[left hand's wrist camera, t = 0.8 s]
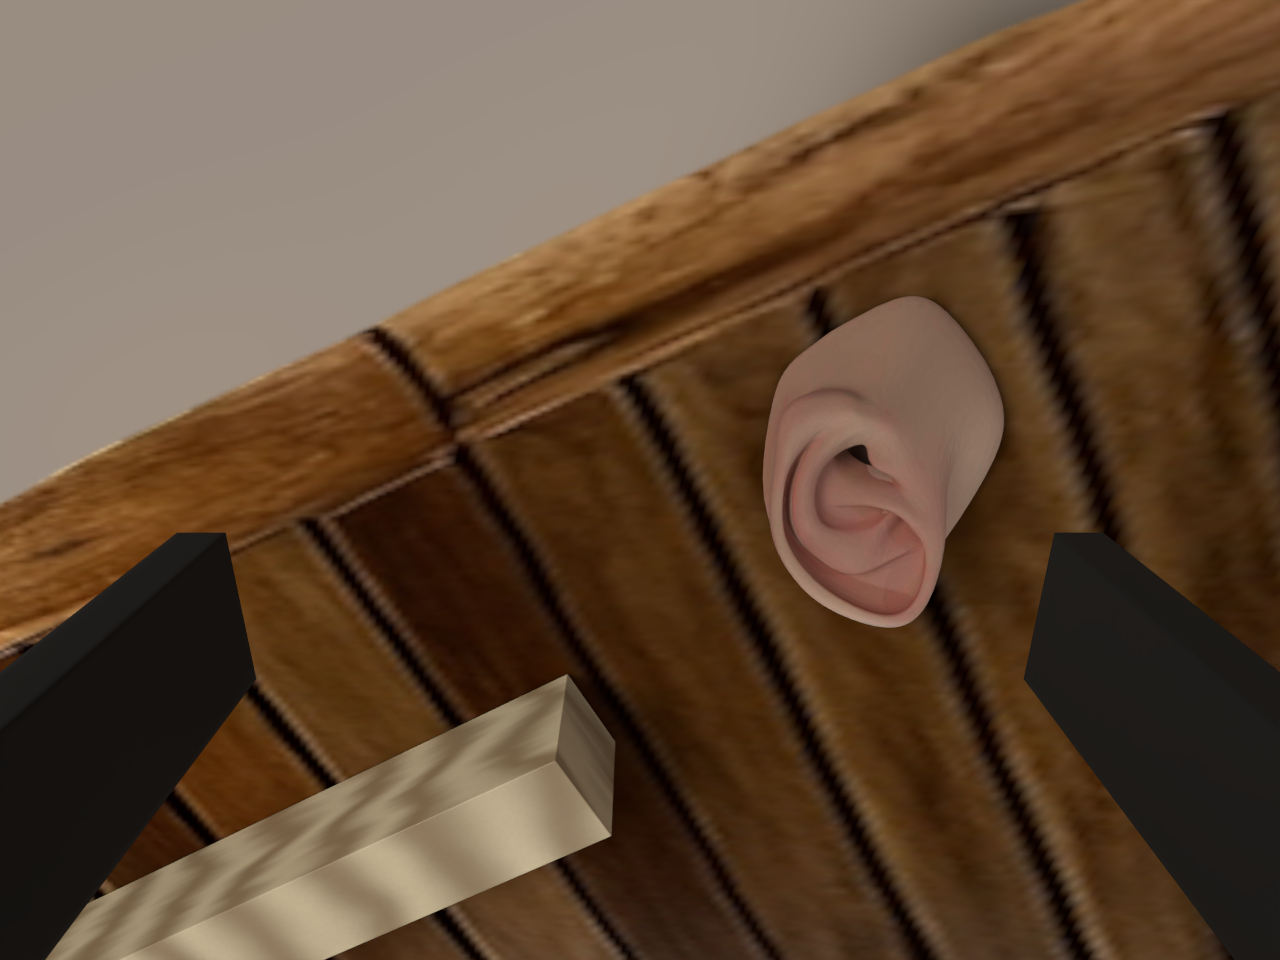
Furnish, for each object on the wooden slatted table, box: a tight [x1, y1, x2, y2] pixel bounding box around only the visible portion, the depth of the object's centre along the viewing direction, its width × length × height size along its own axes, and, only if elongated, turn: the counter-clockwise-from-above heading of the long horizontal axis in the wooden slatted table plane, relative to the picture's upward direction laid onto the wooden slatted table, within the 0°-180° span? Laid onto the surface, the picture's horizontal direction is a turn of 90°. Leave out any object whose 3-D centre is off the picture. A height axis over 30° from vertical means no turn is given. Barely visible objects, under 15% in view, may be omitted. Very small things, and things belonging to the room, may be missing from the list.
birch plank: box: [46, 674, 615, 960], centre depth 42 cm, size 36×5×6 cm, turn 119°
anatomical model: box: [763, 296, 1004, 627], centre depth 35 cm, size 13×4×12 cm
